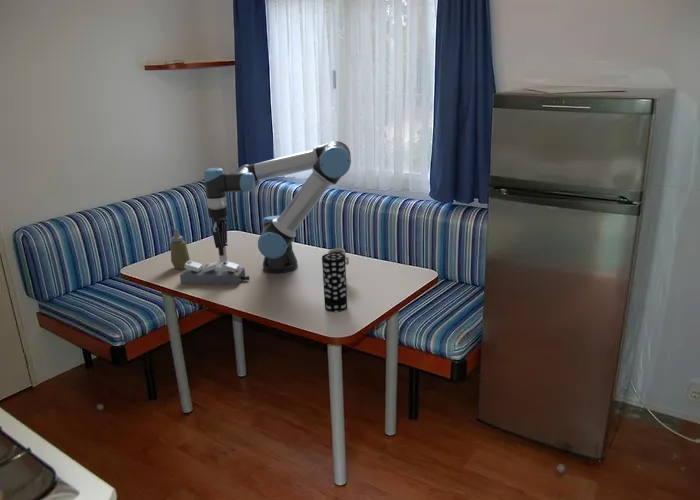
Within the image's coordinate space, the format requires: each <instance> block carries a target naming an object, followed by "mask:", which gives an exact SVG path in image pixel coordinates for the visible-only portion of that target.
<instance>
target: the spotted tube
mask: <svg viewBox="0 0 700 500" xmlns="http://www.w3.org/2000/svg"><path fill="white" fill-rule="evenodd" d="M345 255H346V254H345ZM345 255H344V254H341V253H328V252H327V253H325V254H323V255H322V257H321V264H322V281H323V295H324V297H323V298H324V309H325V310H326V311H327V312H330V313H340V312H343V311H345V310H347V308H348V294H347V293H348V291H347V269H346V265H345Z"/></svg>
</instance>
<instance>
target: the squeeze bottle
mask: <svg viewBox="0 0 700 500" xmlns="http://www.w3.org/2000/svg"><path fill="white" fill-rule="evenodd" d="M179 232H180V231H179V229H178V228H174V233H173V236H172V237H171V240H172V242H171V243H170V262H171V263H172V266H173V267H174V269H175V270H186V268H184V267H185V264H186V263H187V262H188V261H189V260H190V261H191V259H190V254H189V251H188V246H187V243H186V241H185V240H184V237H183V235H180V233H179Z"/></svg>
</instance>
